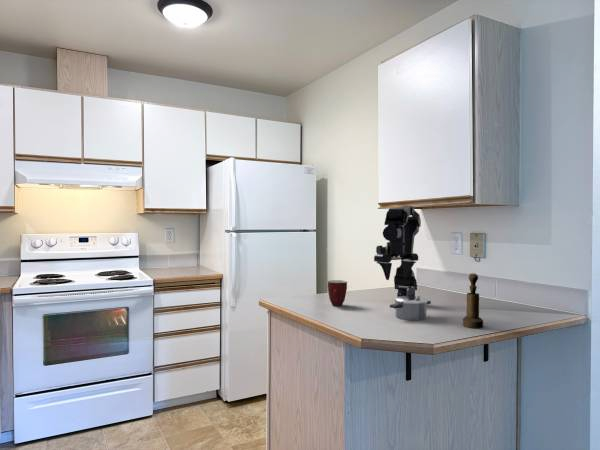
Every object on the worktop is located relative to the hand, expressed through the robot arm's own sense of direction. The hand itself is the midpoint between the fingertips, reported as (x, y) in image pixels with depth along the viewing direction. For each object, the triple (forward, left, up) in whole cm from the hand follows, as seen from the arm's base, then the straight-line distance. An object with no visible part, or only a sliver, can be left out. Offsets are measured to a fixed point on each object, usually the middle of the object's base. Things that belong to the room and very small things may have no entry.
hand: (396, 279), depth 170 cm
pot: (+3, +11, -12) cm, 17 cm away
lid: (+3, +11, -6) cm, 13 cm away
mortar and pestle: (-6, +31, -13) cm, 34 cm away
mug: (+15, -19, -13) cm, 27 cm away
